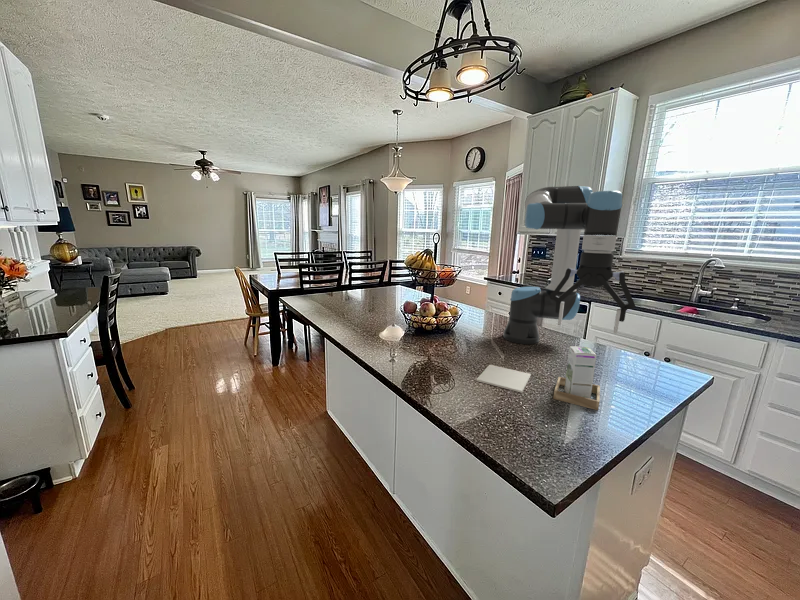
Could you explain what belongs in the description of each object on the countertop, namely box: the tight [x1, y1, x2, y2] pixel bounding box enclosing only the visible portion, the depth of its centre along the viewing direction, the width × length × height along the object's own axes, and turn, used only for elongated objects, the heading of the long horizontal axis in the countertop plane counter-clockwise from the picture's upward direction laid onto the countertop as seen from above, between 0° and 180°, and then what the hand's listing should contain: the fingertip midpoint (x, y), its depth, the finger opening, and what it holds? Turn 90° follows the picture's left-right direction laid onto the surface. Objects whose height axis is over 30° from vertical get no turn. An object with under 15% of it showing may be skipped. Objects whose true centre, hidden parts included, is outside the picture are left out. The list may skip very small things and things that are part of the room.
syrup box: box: [563, 345, 597, 399], centre depth 94 cm, size 6×6×14 cm
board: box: [476, 364, 532, 394], centre depth 107 cm, size 14×14×1 cm
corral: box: [552, 376, 601, 411], centre depth 96 cm, size 11×11×2 cm
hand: (586, 328), depth 91 cm, fingers open, 13 cm apart
